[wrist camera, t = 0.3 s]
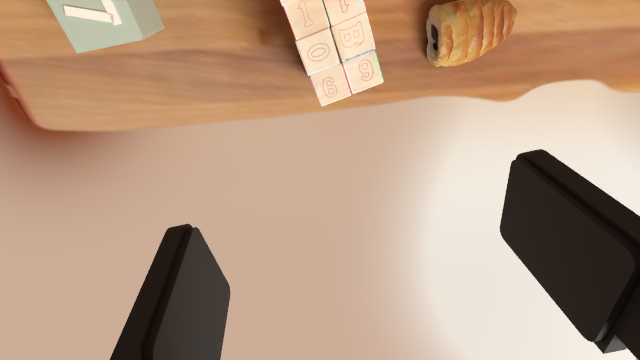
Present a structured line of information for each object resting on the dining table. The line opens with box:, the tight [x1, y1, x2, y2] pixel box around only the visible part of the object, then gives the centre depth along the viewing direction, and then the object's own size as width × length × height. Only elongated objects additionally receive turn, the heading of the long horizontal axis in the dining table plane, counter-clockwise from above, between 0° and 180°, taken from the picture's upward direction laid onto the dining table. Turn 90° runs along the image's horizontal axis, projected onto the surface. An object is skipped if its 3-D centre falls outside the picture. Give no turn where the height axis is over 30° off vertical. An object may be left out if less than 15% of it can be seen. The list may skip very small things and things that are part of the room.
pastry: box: [426, 0, 517, 67], centre depth 34 cm, size 9×7×4 cm
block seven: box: [47, 0, 164, 53], centre depth 29 cm, size 6×6×6 cm
